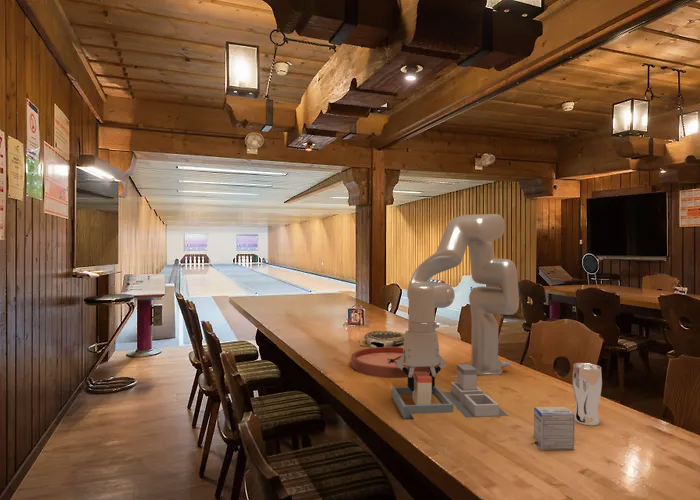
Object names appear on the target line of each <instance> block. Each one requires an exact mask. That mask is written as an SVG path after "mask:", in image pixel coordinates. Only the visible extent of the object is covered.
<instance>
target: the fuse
mask: <svg viewBox="0 0 700 500" xmlns="http://www.w3.org/2000/svg"><path fill="white" fill-rule="evenodd" d="M456 382H457V386H458V387H459V388H460V389H461V390H462V391H470V390H477V387H478V375H477V369H475V368H474V367H473V366H471V364H470V363H465V364H464V363H462V364H460V363H457V364H456Z"/></svg>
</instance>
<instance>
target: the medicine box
mask: <svg viewBox="0 0 700 500" xmlns="http://www.w3.org/2000/svg"><path fill="white" fill-rule="evenodd" d="M575 426H576V421H575V412H572V410H571V409H570V408H567V407H566V406H538V407H537V406H536V407H534V408H533V437H534V438H535V439H536V440H537V441H534V443H535V445H536V446H537V447H538V448H539V449H540V450H541V451H553V450H554V451H555V450H559V451H560V450H561V451H562V450H575V442H576V441H575V437H576V436H575V435H576V434H575V431H576V428H575Z"/></svg>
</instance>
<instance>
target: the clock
mask: <svg viewBox="0 0 700 500" xmlns="http://www.w3.org/2000/svg"><path fill="white" fill-rule="evenodd" d="M402 355H403V347H400V346H395V347H384V346H379V347H378V346H377V347H375V348H371V347H368V348H364V349H360V350H357V351H354V352H353V353H352V354H351V358H350V360H351V361H350V363H351V366H350V367H351V368H352V370H354V371H356V372H357V373H360V374H363V375H365V376H371V377H377V378H385V379H386V378H387V379H406V378H407V379H408V375H407V374H406V373H405V372H404V371H402V370H401V369H400V368H399V367H397V365H396V363H397V362H398V361H399V359H400V358H401V357H402ZM403 366H405V367H406V368H408V366H407V365H406V363H403ZM414 371H417V372H427V373H428V374H429V373H430V372H429V368H428V367H415V368H414Z"/></svg>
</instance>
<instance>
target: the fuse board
mask: <svg viewBox="0 0 700 500" xmlns="http://www.w3.org/2000/svg"><path fill="white" fill-rule="evenodd" d="M442 393H443V394H444V395H445V396H446V397H447V398H448V399H449V400H450V401H451V403H452V404H453V406H454V407H456V408H457V409H458V411H459V412H460V413H461V414H462V415H463V416H464V418H484V417H485V418H487V417H488V418H490V417H508V416H509V415H508V414H507V412H505V411H504V410H503V409H502V408H500V404H499V403H498V402H496V401H495V400H494V399H493V398H492V397H490V396H489V395H488V394H487V393H484V391H483V390H482V389H481V388H480V387H478V386H477V390H470V391H462V390H461V389H460V388H459V387H458V386H457V381H456V382H454V381H453V382H452V381H451V384H450V391H442Z"/></svg>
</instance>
